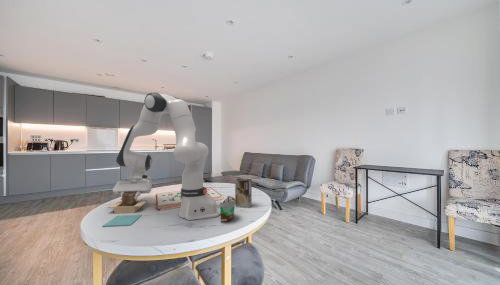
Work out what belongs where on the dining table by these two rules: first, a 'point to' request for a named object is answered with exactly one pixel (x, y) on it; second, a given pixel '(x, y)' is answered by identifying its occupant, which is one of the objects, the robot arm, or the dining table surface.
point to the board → (122, 220)
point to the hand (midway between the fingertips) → (128, 199)
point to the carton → (127, 207)
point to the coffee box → (243, 192)
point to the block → (128, 199)
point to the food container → (227, 209)
